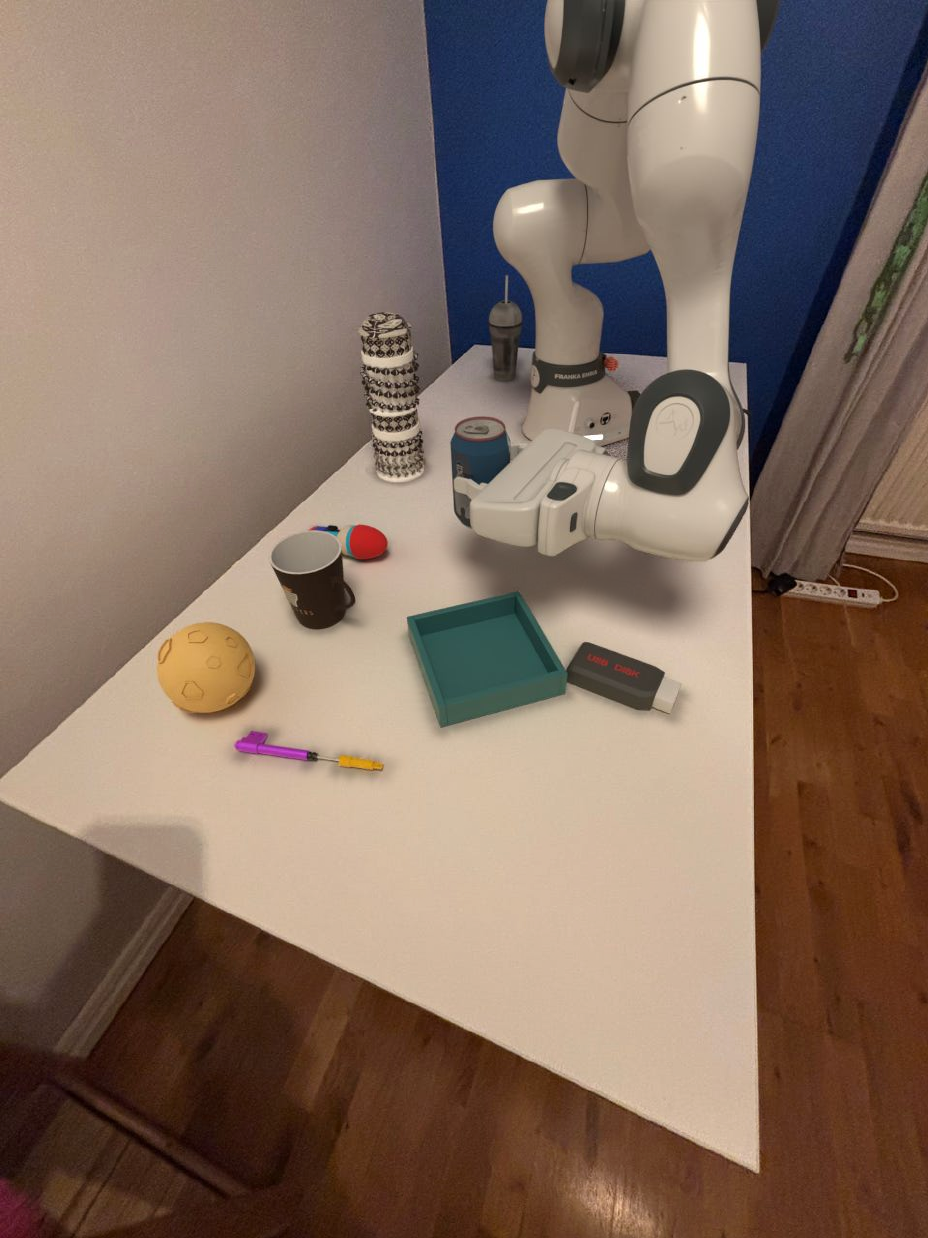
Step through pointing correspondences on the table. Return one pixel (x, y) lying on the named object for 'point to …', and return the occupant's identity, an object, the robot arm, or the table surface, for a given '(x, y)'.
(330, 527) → the toy figure
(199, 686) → the stress ball
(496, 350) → the beverage cup
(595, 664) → the usb drive
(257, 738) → the purple orange rod tool
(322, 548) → the coffee mug
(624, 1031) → the table surface
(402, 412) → the decorative candle
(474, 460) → the soda can
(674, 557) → the robot arm
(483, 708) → the bin
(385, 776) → the table surface
